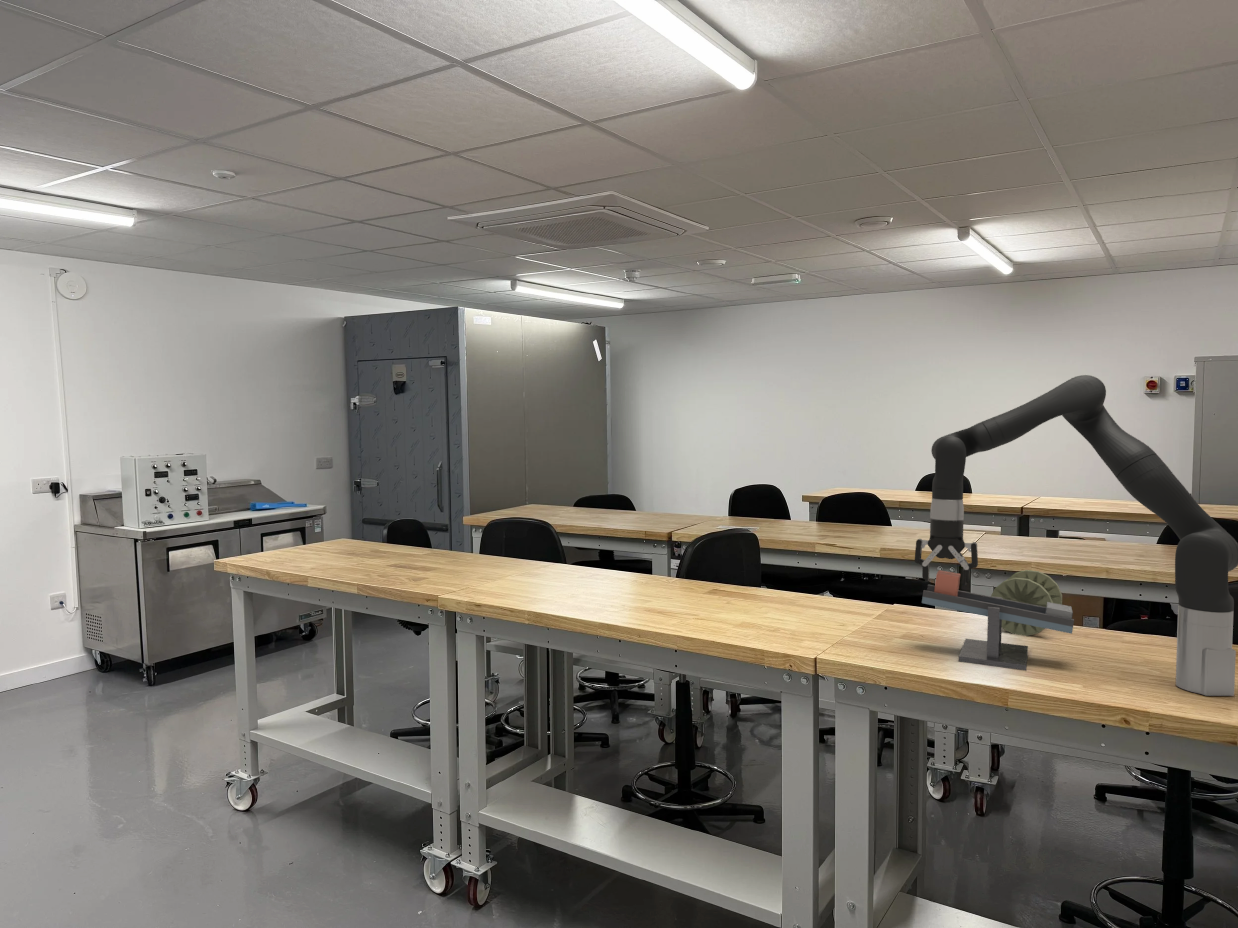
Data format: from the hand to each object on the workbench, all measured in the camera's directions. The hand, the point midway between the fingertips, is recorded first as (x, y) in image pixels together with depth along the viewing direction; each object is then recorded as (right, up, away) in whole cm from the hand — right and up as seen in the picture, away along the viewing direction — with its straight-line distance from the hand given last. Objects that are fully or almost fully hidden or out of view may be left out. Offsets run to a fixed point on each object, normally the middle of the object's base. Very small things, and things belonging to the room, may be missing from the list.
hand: (945, 582), depth 190 cm
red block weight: (0, -4, 0) cm, 4 cm away
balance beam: (+10, -6, -5) cm, 13 cm away
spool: (+31, -16, +22) cm, 41 cm away
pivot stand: (+10, -17, -5) cm, 20 cm away
